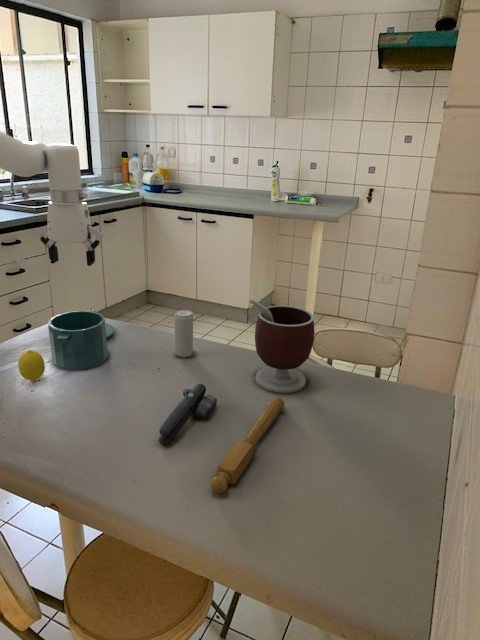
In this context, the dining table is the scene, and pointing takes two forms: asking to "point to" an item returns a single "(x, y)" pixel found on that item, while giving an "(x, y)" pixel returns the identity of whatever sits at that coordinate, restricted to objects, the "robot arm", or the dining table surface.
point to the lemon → (31, 365)
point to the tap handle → (244, 449)
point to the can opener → (187, 411)
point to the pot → (78, 339)
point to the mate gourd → (283, 346)
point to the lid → (109, 330)
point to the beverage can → (183, 333)
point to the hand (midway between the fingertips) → (72, 263)
